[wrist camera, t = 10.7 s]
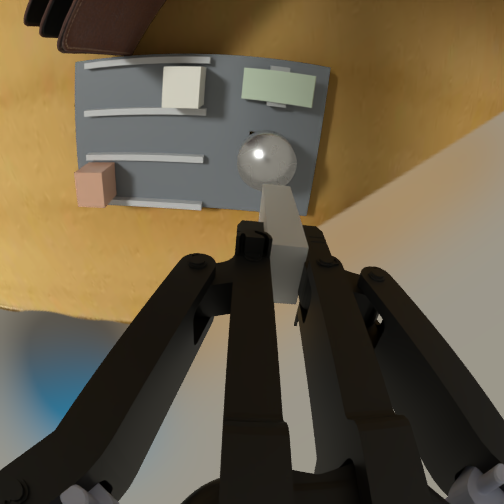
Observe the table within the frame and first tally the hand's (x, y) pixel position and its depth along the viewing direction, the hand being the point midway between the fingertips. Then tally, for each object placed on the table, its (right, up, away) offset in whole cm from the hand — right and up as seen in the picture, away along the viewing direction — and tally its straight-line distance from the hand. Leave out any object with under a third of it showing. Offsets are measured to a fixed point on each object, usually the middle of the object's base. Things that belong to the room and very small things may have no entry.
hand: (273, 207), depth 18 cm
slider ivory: (-7, +12, +7) cm, 16 cm away
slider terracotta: (-16, +5, +12) cm, 21 cm away
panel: (-7, +10, +12) cm, 16 cm away
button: (0, +7, +10) cm, 12 cm away
